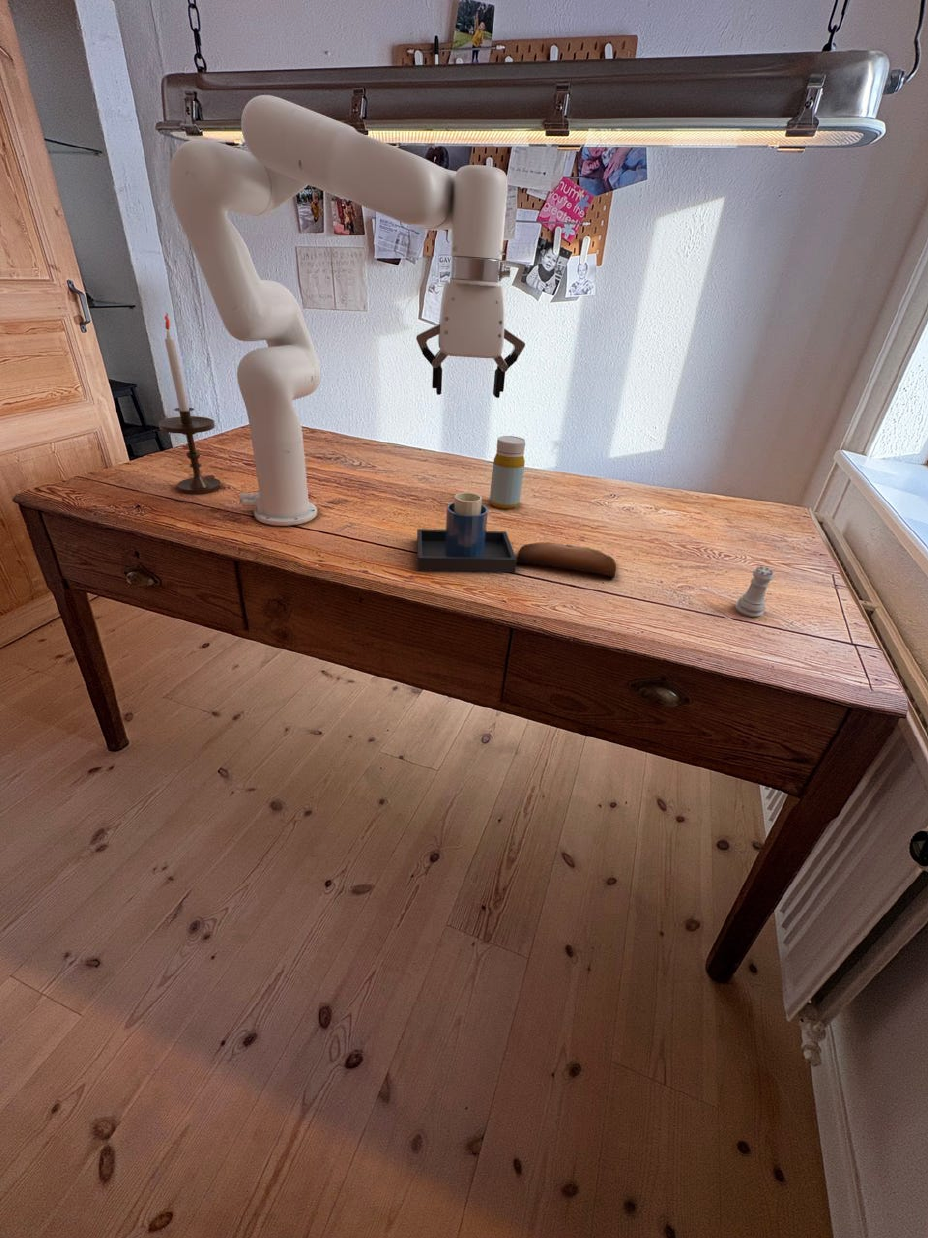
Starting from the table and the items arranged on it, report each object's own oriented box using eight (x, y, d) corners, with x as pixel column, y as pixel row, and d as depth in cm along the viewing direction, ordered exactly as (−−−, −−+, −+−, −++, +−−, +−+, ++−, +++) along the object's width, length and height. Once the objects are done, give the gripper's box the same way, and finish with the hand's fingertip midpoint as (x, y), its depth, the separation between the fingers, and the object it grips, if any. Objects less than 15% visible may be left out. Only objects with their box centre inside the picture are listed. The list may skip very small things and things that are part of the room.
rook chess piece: (738, 616, 91) (755, 573, 87) (731, 603, 95) (747, 561, 90) (766, 620, 91) (784, 577, 86) (758, 606, 94) (775, 565, 90)
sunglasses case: (614, 559, 105) (620, 539, 99) (610, 590, 102) (616, 571, 96) (522, 545, 108) (523, 524, 102) (515, 575, 105) (516, 555, 99)
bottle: (517, 511, 125) (525, 445, 117) (487, 507, 126) (493, 441, 118) (520, 501, 131) (528, 437, 123) (492, 497, 132) (498, 433, 124)
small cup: (452, 555, 101) (456, 501, 95) (451, 544, 105) (454, 491, 99) (478, 556, 101) (483, 502, 95) (475, 545, 105) (480, 492, 100)
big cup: (445, 561, 100) (448, 515, 95) (443, 544, 106) (445, 500, 101) (485, 562, 100) (490, 516, 96) (481, 545, 107) (485, 501, 102)
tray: (418, 571, 97) (418, 557, 96) (417, 541, 108) (417, 529, 106) (515, 572, 99) (516, 559, 98) (504, 543, 110) (506, 531, 108)
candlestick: (195, 476, 130) (160, 309, 112) (235, 483, 128) (207, 313, 109) (162, 490, 121) (119, 311, 103) (204, 498, 119) (168, 316, 101)
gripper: (527, 277, 86) (514, 393, 95) (416, 268, 84) (415, 387, 93) (536, 277, 79) (522, 402, 89) (417, 268, 77) (415, 396, 87)
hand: (467, 394), depth 91 cm, fingers open, 9 cm apart
